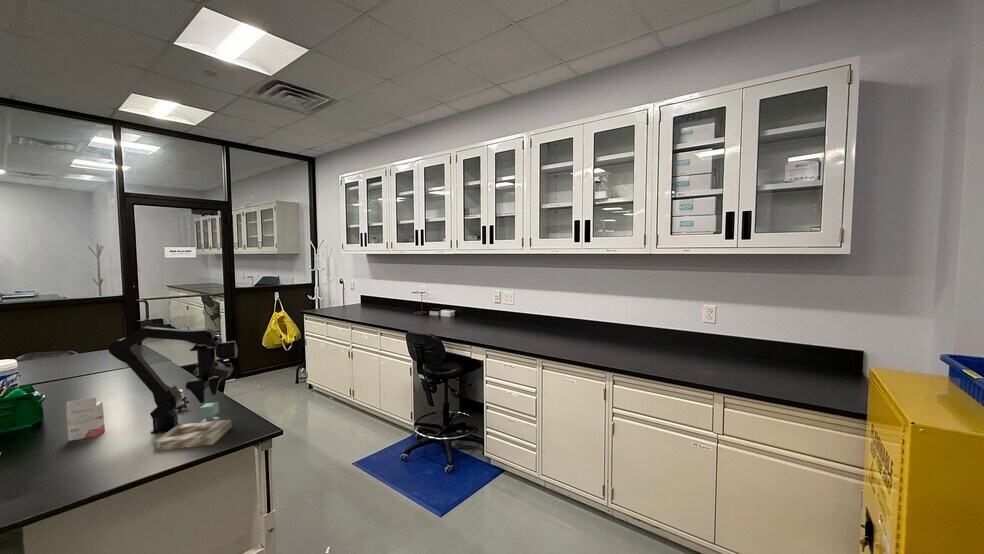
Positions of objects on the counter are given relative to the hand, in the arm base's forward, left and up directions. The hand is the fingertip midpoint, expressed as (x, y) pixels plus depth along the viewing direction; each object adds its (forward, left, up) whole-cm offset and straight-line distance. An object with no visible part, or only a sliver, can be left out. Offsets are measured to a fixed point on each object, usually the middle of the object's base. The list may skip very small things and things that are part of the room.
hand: (208, 398), depth 152 cm
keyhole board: (+2, -15, -10) cm, 18 cm away
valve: (-22, +22, -10) cm, 32 cm away
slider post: (0, 0, -10) cm, 10 cm away
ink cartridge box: (-40, -2, -10) cm, 41 cm away
